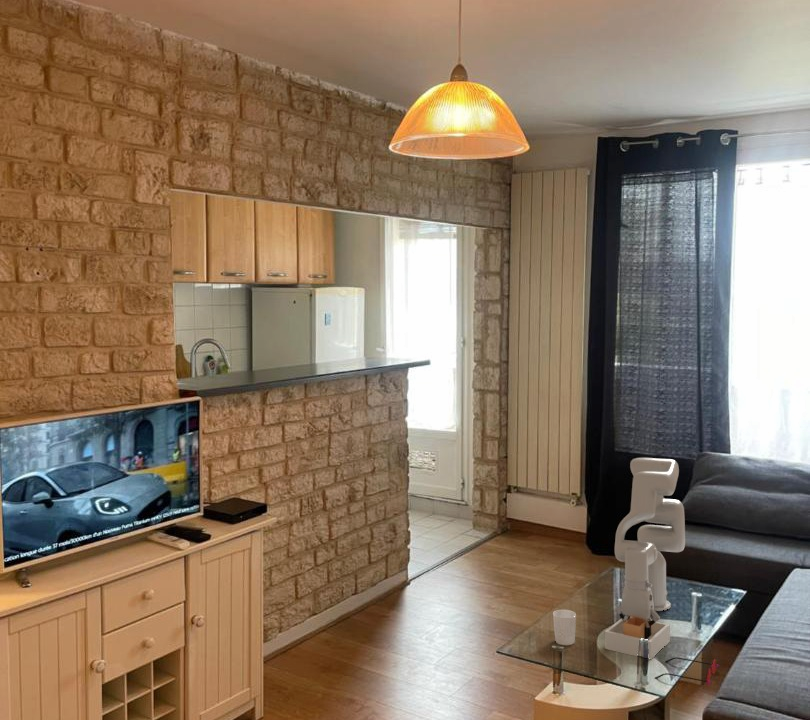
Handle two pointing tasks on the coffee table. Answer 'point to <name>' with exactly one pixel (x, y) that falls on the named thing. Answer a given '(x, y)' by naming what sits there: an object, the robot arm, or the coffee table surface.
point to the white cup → (564, 626)
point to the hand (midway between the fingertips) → (637, 634)
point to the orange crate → (635, 627)
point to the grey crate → (636, 639)
